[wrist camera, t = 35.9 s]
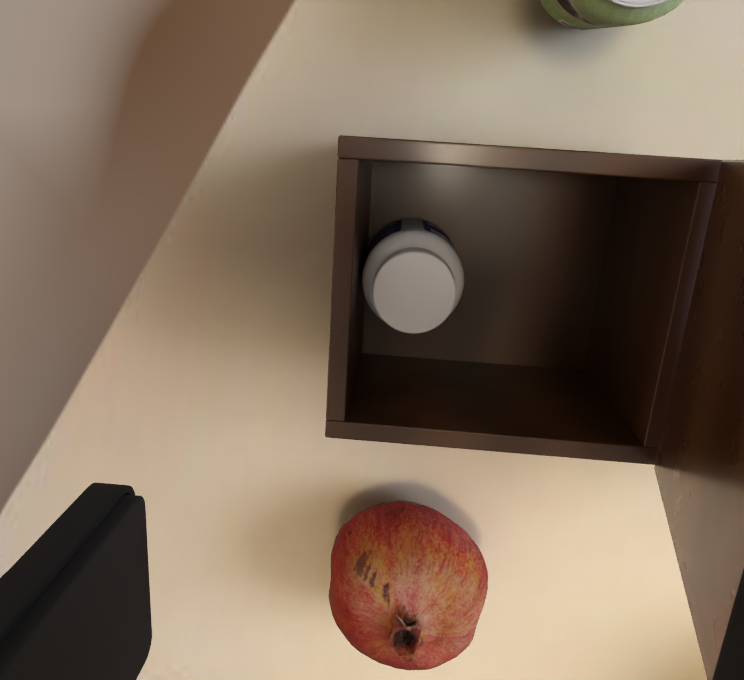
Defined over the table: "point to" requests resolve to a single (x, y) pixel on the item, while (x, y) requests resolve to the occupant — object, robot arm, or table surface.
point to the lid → (710, 425)
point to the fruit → (406, 585)
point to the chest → (520, 297)
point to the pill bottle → (412, 275)
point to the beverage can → (606, 12)
